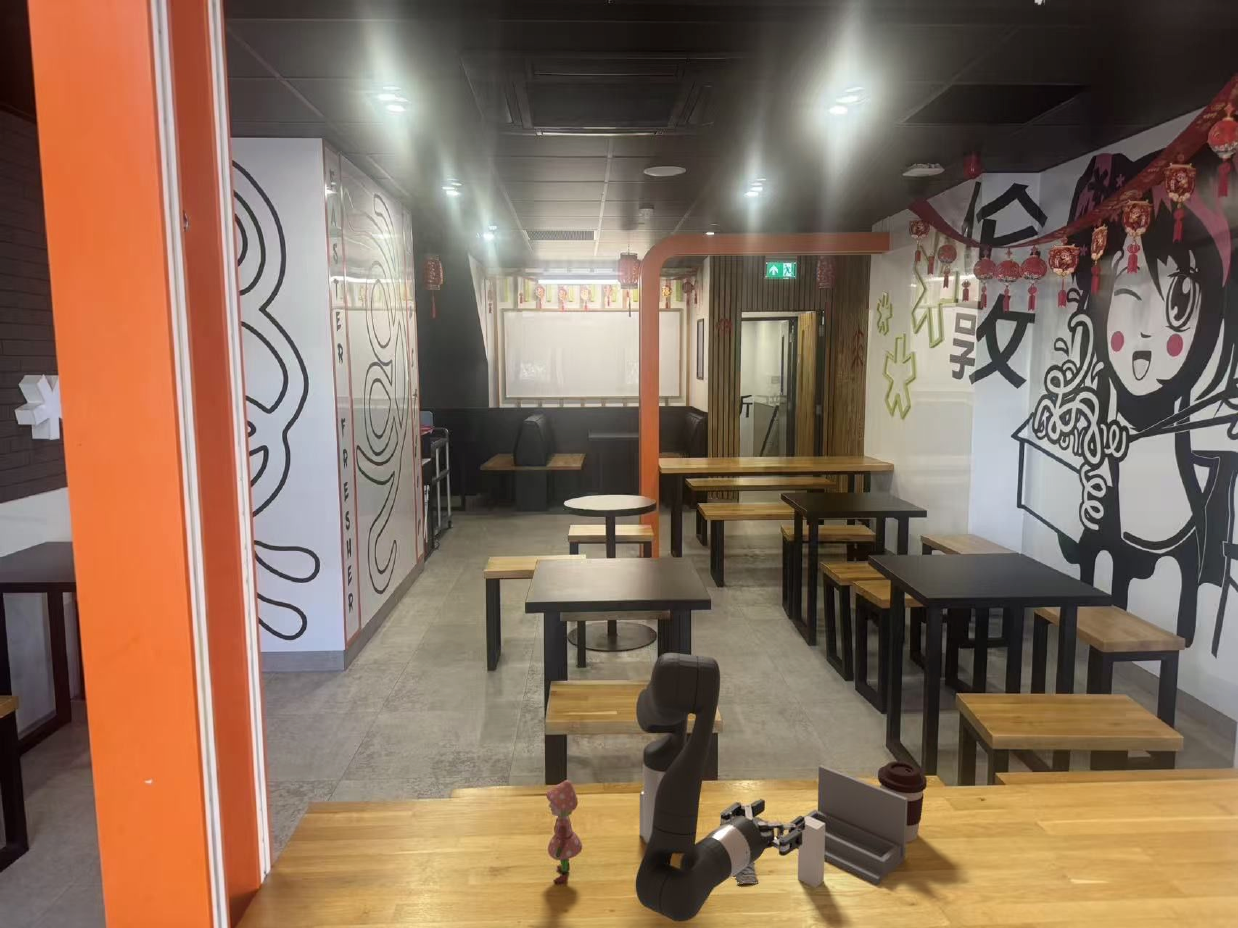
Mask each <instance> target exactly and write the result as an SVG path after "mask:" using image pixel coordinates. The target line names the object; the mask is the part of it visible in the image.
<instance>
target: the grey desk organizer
mask: <svg viewBox="0 0 1238 928" xmlns="http://www.w3.org/2000/svg"><path fill="white" fill-rule="evenodd" d="M817 785H818V786H817V787H818V789H817V790H818V792H817V809H815V808H814V809H813V810H811V811H810V812H808V813H807V814H805V816H803V817H804V818H805V817H806V816H810V817H812V818H814V819H816V820H819V821H821V822H823V823H825V851H824V861H827V862H829V863H831V864H834V865H836V866H837V867H840V868H842V869H844V870H845V871H848V872H850V873H852V874H854V875H856V876H858V877H860V878H863V879H865V880H867V881H869V882H870V883H872V884H875V885H876V886H878V885H879V884H880V883H881V882H883V880H884V879H886V878H887V877H888V876H889V875H890V874H891V873H892V872H894V870H895V869H897V868H898V866H900V865H901V864H902V863H903V862H904V861H905V860H906V853H907V852H906V850H907V846H906V845H907V842H906V827H907V801H908V798H906V797H903V796H901V795H898V794H895V793H893V792H890V791H888V790H885V789H882V788H880V787H879V786H876V785H874V784H872V783H870V782H866V781H864V780H861V779H859V778H856V777H855V776H851V775H849V774H846V773H844V772H841V771H838V770H836V769H833V768H831V767H828V766H825V765H822V764H820V765H819V766H818V784H817Z"/></svg>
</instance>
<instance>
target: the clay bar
mask: <svg viewBox="0 0 1238 928" xmlns="http://www.w3.org/2000/svg"><path fill="white" fill-rule="evenodd" d="M805 816H806V815H805ZM797 849H798V851H797V852H798V855H797V856H798V857H797V858H798V859H797V880H799V881H801V882H803V883H805V884H807V885H808V886H811V887H812V888H815V889H816V888H818V887H819V886H820V885H821V884H823V882H824V881H825V879H824V878H825V877H824V876H825V859H824V851H825V823H823V822H821V821H819V820H816V819H814V818H812V817H810V816H806V817H805V829H804V830H803V831H802V845H801V846H799V847H798V848H797Z"/></svg>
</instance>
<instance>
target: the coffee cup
mask: <svg viewBox="0 0 1238 928" xmlns="http://www.w3.org/2000/svg"><path fill="white" fill-rule="evenodd" d="M877 780H878V782H879V783H880V788H882V789H885V790H888V791H890V792H893V793H895V794H898V795H901V796H903V797H906V798H908V801H907V827H906V843H912V842H914V841H916V840H917V838H918V835H919V829H920V822H921V821H922V820H921V819H922V812H923V804H924V790H926V788H927V782H928V781H927V777H926V776H925V774H924V773H922V772H921V771H920V769H919V768H918V767H916V766H915V765H914V764H912V763H909V762H905V761H891V762H888V763H887V764H885V765H884V766H882V767H880V768H879V769H878V771H877Z"/></svg>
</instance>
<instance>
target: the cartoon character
mask: <svg viewBox="0 0 1238 928" xmlns="http://www.w3.org/2000/svg"><path fill="white" fill-rule="evenodd" d="M546 799H547V801H549V804H548V807H549V808H550V810H551V814H552V815H553V816H557V817H556V818H555V823H554V826H553V832H554V834H553V836H552V838H550V841H549V843H548V847H547V853H548V854H549V857H551V858H552V859H553V860H555V861H559V862H560V864H559V865H556V868H557V870H559V871H561V874H560V875H559V876H558V877H556V878H555V879H552V880H553V883H554V884H560V883H562V884H565V883H567V881H568V879H569V878H568V873H569V872H570V868H571V867H570V859H572V858H574V857H576V856H577V855H579V854H580V853H581V852H582V851H583V844H582V840H581V839H580V837H579V836H578V834H577V833H575V831H573V828H572V821H571V819H570V818H571V817H570V815H572V813H573V811H575V810H577V809H576V808H577V806H578V804H579V802H578V796H577V793H576V790H575V788H574V786H573V783H572V782H571V781H570V780H568V779H565V780H563V781H562V782H560V783H558V784H556V786H554V787H553V788H551V789H548V791H547V792H546Z"/></svg>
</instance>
